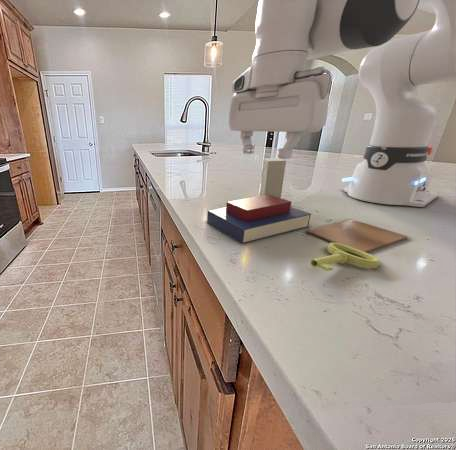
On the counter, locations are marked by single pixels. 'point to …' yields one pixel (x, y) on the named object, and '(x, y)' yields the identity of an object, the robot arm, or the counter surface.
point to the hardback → (257, 224)
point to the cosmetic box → (272, 177)
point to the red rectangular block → (258, 207)
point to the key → (345, 257)
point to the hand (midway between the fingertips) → (264, 155)
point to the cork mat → (357, 235)
